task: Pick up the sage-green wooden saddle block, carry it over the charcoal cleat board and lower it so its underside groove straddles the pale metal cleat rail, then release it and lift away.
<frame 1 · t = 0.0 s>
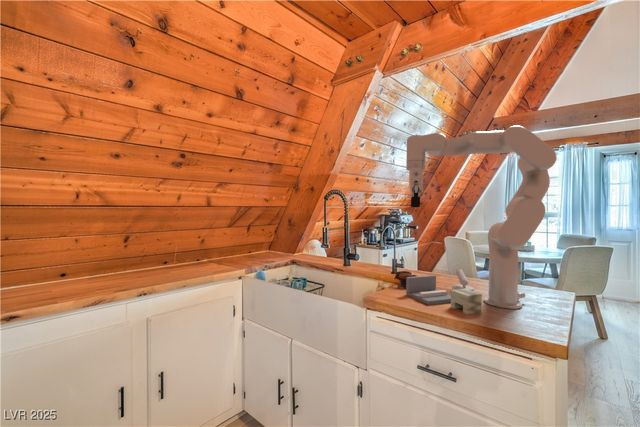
hand: (415, 207, 121), 37 cm above the worktop, tool pointing down, fingers open, 9 cm apart
saddle block: (465, 309, 106), on the worktop
pottery mug: (406, 287, 137), on the worktop
cleat board: (431, 298, 119), on the worktop
wall hook: (462, 292, 128), on the worktop
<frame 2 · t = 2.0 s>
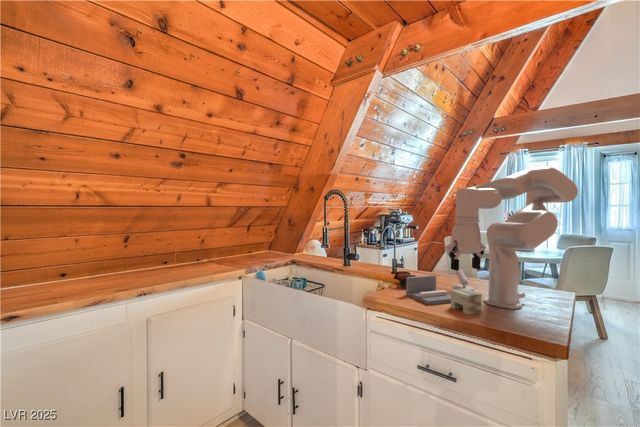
hand: (465, 269, 105), 15 cm above the worktop, tool pointing down, fingers open, 9 cm apart
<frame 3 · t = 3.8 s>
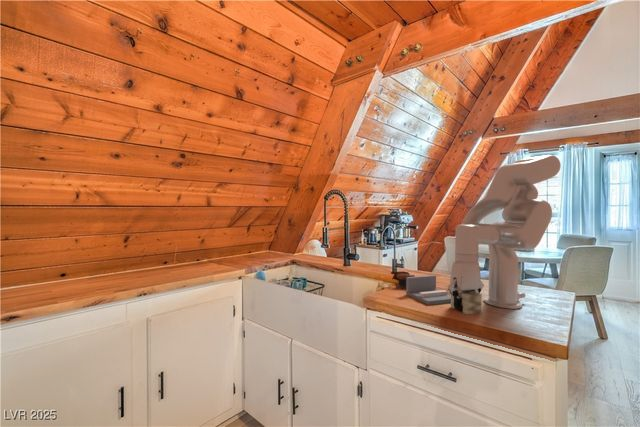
hand: (465, 307, 106), 1 cm above the worktop, tool pointing down, fingers closed on saddle block, 6 cm apart
saddle block: (465, 309, 106), on the worktop, touching gripper
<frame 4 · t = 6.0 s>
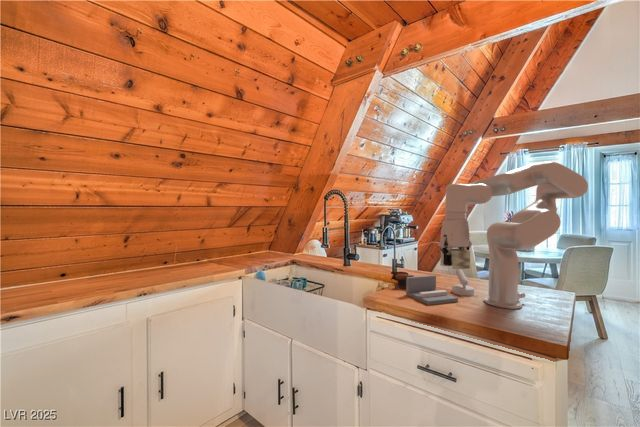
hand: (454, 264, 109), 16 cm above the worktop, tool pointing down, fingers closed on saddle block, 6 cm apart
saddle block: (454, 266, 109), point 15 cm above the worktop, touching gripper
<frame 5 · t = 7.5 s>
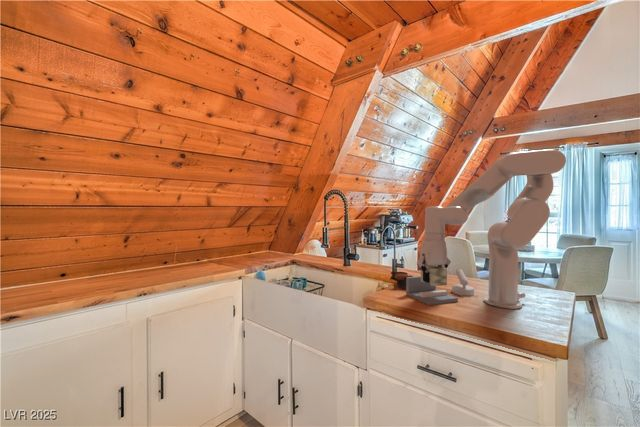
hand: (433, 280, 117), 7 cm above the worktop, tool pointing down, fingers closed on saddle block, 6 cm apart
saddle block: (433, 283, 117), point 7 cm above the worktop, touching gripper
when the fingers open (5 cm above the worktop, at t = 8.5 s): saddle block drops 2 cm, resting on cleat board.
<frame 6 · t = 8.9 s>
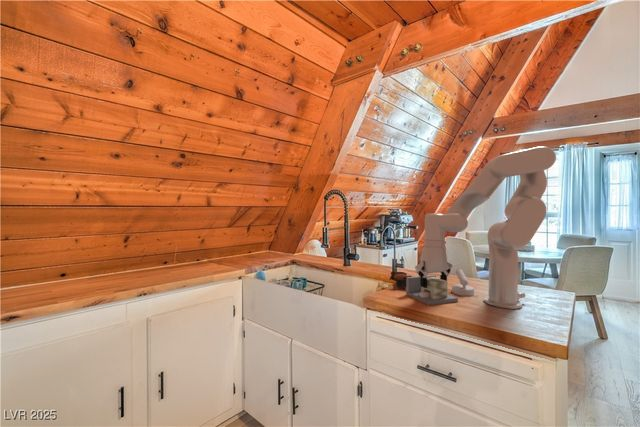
hand: (433, 286, 117), 5 cm above the worktop, tool pointing down, fingers open, 9 cm apart
saddle block: (433, 295, 118), point 1 cm above the worktop, touching cleat board
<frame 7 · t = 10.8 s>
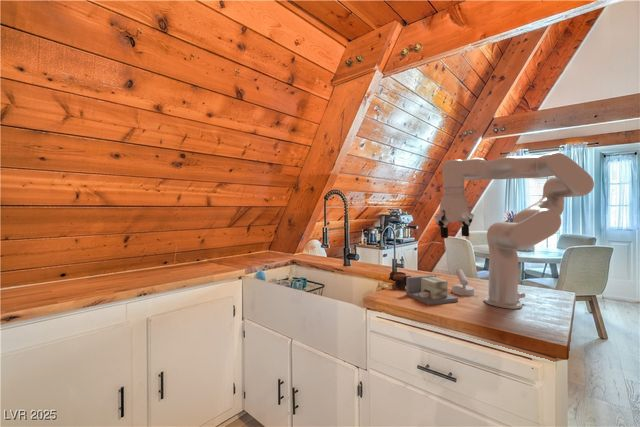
hand: (455, 237, 112), 26 cm above the worktop, tool pointing down, fingers open, 9 cm apart
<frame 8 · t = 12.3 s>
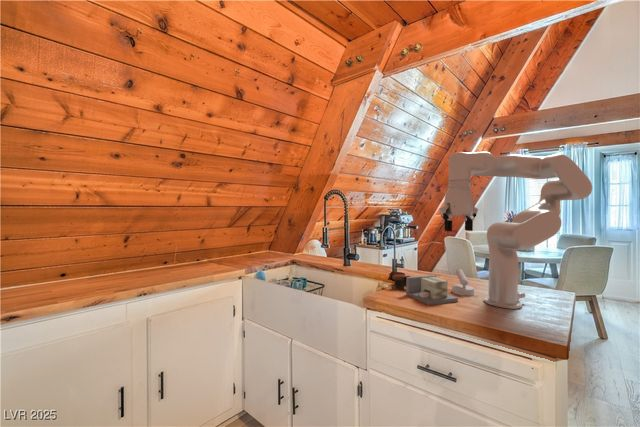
hand: (458, 230, 110), 28 cm above the worktop, tool pointing down, fingers open, 9 cm apart
at the end: saddle block inside the target area on the cleat board (0.1 cm from its centre), point 1.5 cm above the cleat board's base; saddle block tilted 0°; the gripper is holding nothing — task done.
